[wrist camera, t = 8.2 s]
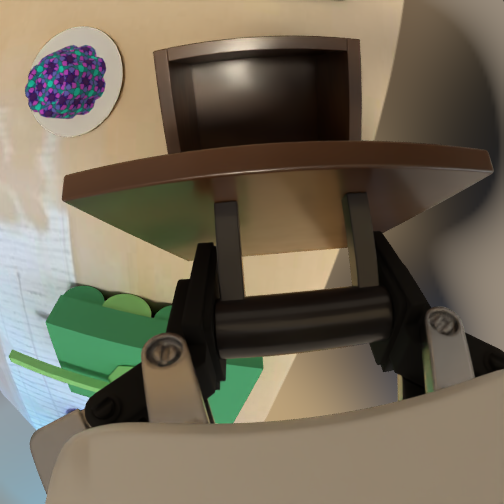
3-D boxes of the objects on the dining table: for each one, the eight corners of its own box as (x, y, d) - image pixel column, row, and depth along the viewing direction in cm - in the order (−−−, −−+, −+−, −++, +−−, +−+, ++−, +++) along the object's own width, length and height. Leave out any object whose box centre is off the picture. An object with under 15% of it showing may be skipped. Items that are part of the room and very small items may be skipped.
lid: (63, 174, 7) (66, 373, 6) (488, 149, 7) (516, 321, 6) (186, 250, 23) (191, 322, 22) (354, 236, 22) (362, 307, 22)
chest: (182, 57, 23) (152, 51, 15) (321, 48, 23) (359, 39, 14) (201, 199, 31) (188, 252, 23) (323, 189, 31) (353, 238, 23)
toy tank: (-13, 325, 25) (265, 395, 31) (28, 267, 35) (259, 318, 41) (26, 394, 34) (232, 444, 40) (49, 341, 44) (232, 383, 50)
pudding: (73, 8, 18) (46, 2, 14) (149, 66, 23) (131, 66, 19) (16, 98, 22) (-13, 108, 18) (81, 156, 27) (57, 173, 23)
